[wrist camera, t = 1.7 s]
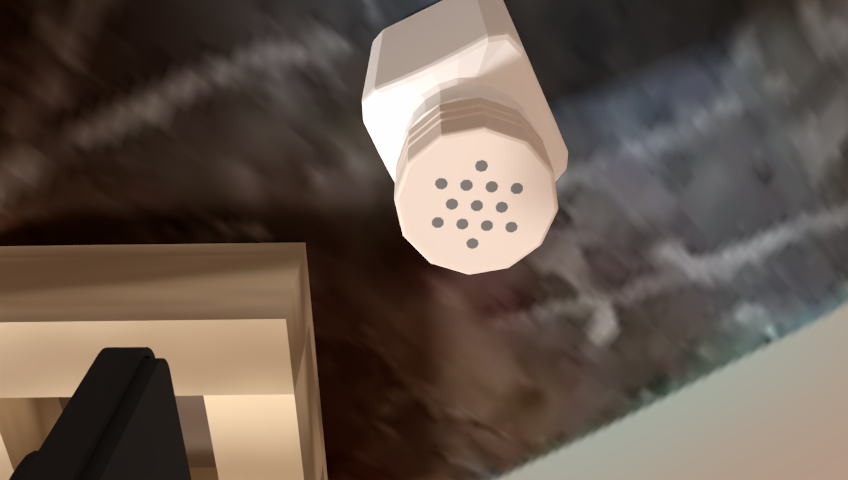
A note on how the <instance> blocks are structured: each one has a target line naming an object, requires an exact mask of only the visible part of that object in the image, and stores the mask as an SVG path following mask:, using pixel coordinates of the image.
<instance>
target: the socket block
mask: <svg viewBox="0 0 848 480" xmlns="http://www.w3.org/2000/svg"><path fill="white" fill-rule="evenodd" d="M106 347H148V348H150V349H152V351H153V353H154V355H155V358H164V359H166V360H167V362H168V365H169V368H170V373H171V378H172V384H173V389H174V394H175V399H176V404H177V409H178V414H179V419H180V424H181V429H182V434H183V439H184V444H185V450H186V455H187V460H188V465H189V470H190V475H191V480H328V477H327V466H326V456H325V445H324V435H323V424H322V413H321V403H320V392H319V381H318V371H317V360H316V350H315V339H314V328H313V318H312V307H311V297H310V286H309V275H308V265H307V254H306V243H305V242H302V243H219V244H137V245H54V246H0V480H9V479H10V477H11V475H12V474H13V472H14V471H15V469H16V468H17V466H18V464H19V463H20V462H21V461H22V460H23V458H24V457H25V456H26V455H27V454H29V453H31V452H33V451H39V449H40V447H41V446H42V444H43V442H44V441H45V439H46V438H47V436H48V434H49V433H50V431H51V430H52V428H53V426H54V425H55V423H56V421H57V420H58V418H59V417H60V415H61V413H62V412H63V410H64V409H65V407H66V405H67V404H68V402H69V400H70V399H71V397H72V396H73V394H74V392H75V391H76V389H77V388H78V386H79V384H80V383H81V381H82V379H83V378H84V376H85V375H86V373H87V371H88V370H89V368H90V367H91V365H92V363H93V362H94V360H95V358H96V357H97V355H98V354H99V352H100V351H101V350H102V349H104V348H106Z"/></svg>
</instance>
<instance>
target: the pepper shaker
mask: <svg viewBox="0 0 848 480" xmlns="http://www.w3.org/2000/svg"><path fill="white" fill-rule="evenodd" d="M362 111H363V122H364V124H365V126H366V128H367V130H368V132H369V134H370V136H371V138H372V140H373V142H374V144H375V146H376V148H377V150H378V152H379V154H380V156H381V158H382V160H383V162H384V164H385V166H386V168H387V169H388V171H389V173H390V175H391V177H392V179H393V180H394V182H395V192H394V200H395V205H396V209H397V213H398V218H399V222H400V226H401V230H402V235H403V236H404V237H405V238H406V239H407V240H408V241H409V242H410V243H411V244H412V245H413V246H414V247H415V248H416V249H417V250H418V251H419V252H420V253H421V254H422V255H423V256H424V257H425V258H426V259H427V260H428V261H429V262H430V263H431V264H435V265H438V266H441V267H445V268H448V269H452V270H455V271H458V272H462V273H465V274H468V275H469V274H475V273H481V272H487V271H493V270H499V269H505V268H509V267H510V266H512V265H513V264H515V263H516V262H517V261H519V260H520V259H522V258H523V257H524V256H526V255H527V254H529V253H530V252H531V251H533V250H534V249H536V248H537V247H538V246H540V245H541V244H542V242H543V240H544V238H545V236H546V234H547V232H548V230H549V227H550V225H551V223H552V221H553V219H554V217H555V215H556V213H557V211H558V202H557V194H556V186H555V182H556V181H557V179H558V178H559V177H560V176H561V175H562V173H563V172H564V171H565V170H566V168H567V159H568V150H567V148H566V146H565V143H564V141H563V139H562V136H561V134H560V132H559V129H558V127H557V124H556V122H555V120H554V117H553V115H552V113H551V110H550V108H549V106H548V103H547V101H546V99H545V96H544V94H543V92H542V89H541V87H540V85H539V82H538V80H537V78H536V75H535V73H534V71H533V68H532V66H531V64H530V61H529V59H528V57H527V54H526V52H525V50H524V47H523V45H522V43H521V40H520V38H519V36H518V33H517V31H516V29H515V26H514V24H513V22H512V19H511V17H510V15H509V12H508V10H507V8H506V5H505V3H504V1H503V0H442V1H440V2H438V3H436V4H434V5H432V6H430V7H428V8H426V9H424V10H422V11H420V12H418V13H416V14H414V15H412V16H410V17H408V18H406V19H404V20H402V21H400V22H397V23H395V24H393V25H391V26H389V27H387V28H385V29H383V30H382V32H381V33H380V34H379V35H378V36H377V37H376V39H375V40H374V41H373V44H372V49H371V54H370V59H369V65H368V70H367V75H366V81H365V86H364V91H363V97H362Z"/></svg>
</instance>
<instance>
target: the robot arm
mask: <svg viewBox="0 0 848 480" xmlns="http://www.w3.org/2000/svg"><path fill="white" fill-rule="evenodd" d="M9 480H191V475H190V470H189V465H188V460H187V455H186V450H185V444H184V439H183V434H182V429H181V424H180V419H179V414H178V409H177V404H176V399H175V394H174V389H173V384H172V378H171V373H170V368H169V365H168V362H167V360H166V359H164V358H155V355H154V353H153V351H152V349H150V348H148V347H106V348H104V349H102V350H101V351H100V352H99V354H98V355H97V357H96V358H95V360H94V362H93V363H92V365H91V367H90V368H89V370H88V371H87V373H86V375H85V376H84V378H83V379H82V381H81V383H80V384H79V386H78V388H77V389H76V391H75V392H74V394H73V396H72V397H71V399H70V400H69V402H68V404H67V405H66V407H65V409H64V410H63V412H62V413H61V415H60V417H59V418H58V420H57V421H56V423H55V425H54V426H53V428H52V430H51V431H50V433H49V434H48V436H47V438H46V439H45V441H44V442H43V444H42V446H41V447H40V449H39V451H33V452H31V453H29V454H27V455H26V456H25V457H24V458H23V460H22V461H21V462H20V463H19V464H18V466H17V468H16V469H15V471H14V472H13V474H12V475H11V477H10V479H9Z"/></svg>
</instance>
